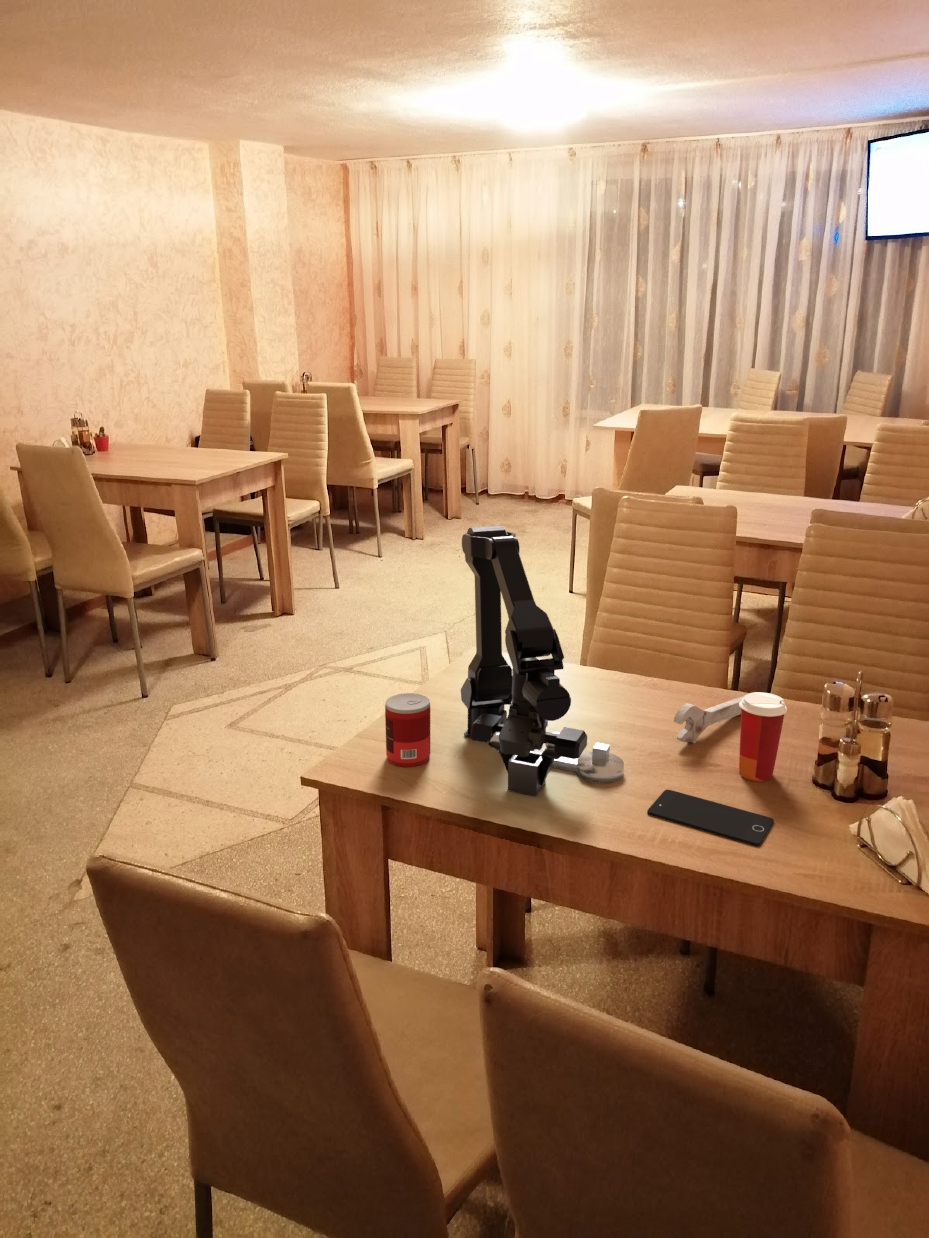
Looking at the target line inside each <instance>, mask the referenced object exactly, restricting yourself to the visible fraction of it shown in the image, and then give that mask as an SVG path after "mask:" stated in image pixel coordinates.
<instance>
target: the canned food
mask: <svg viewBox="0 0 929 1238" xmlns="http://www.w3.org/2000/svg"><path fill="white" fill-rule="evenodd" d="M430 700H431V699H430V698H429V697H427V696H426V695H423V694H420V693H416V692H415V693H414V692H413V693H412V692H407V693H398V694H394V695H392V696H390V697H388V698H387V699H386V700H385V703H384V704H385V706H384V707H385V708H384V713H385V715H384V716H385V717H384V718H385V722H384V723H385V751H386V753H385V754H386V757H387V760H388V762H389V763H390V764H392V765H394V766H397V767H402V768H403V767H404V768H411V767H412V768H413V767H416V766H420V765H421V766H422V765H423V764H425V763H426V762H427V761H428V760H429V759H430V756H431V701H430Z"/></svg>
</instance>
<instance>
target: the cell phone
mask: <svg viewBox="0 0 929 1238" xmlns="http://www.w3.org/2000/svg"><path fill="white" fill-rule="evenodd" d="M646 814H647V815H648V816H651V817H654V818H658V819H661V820H664V821H668V822H672V823H676V824H677V825H683V826H686V827H689V828H691V829H695V830H699V831H702V832H706V833H708V834H712V835H716V836H719V837H723V838H726V839H730V840H732V841H736V842H740V843H743V844H747V845H750V846H752V847H753V846H754V847H757V848H758V847H760V846H761V845H762V843H763V842H764V840H765V839H766V837H767V835H768V834H769V832H770V830H771V828H772V826H773V825H774V823H775V822H774V820H775V819H774V818H773V817H770V816H766V815H762V814H759V813H756V812H751V811H748V810H744V809H741V808H737V807H735V806H734V807H733V806H730V805H727V804H722V803H720V802H715V801H711V800H708V799H705V798H702V797H698V796H694V795H691V794H686V793H684V792H679V791H676V790H672V789H668V788H667V789H665V790H664V791H662V793H661V794H660V795H659V796H658V797H657V798H656V800H655V801H653V804H651V805H650V806H649V808H648V809H647V813H646Z"/></svg>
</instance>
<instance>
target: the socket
mask: <svg viewBox="0 0 929 1238" xmlns="http://www.w3.org/2000/svg"><path fill="white" fill-rule="evenodd" d="M541 754H542V753H540V752H534V751H530V754H529V755H528V756H526V757H519V756H518V755H513V756H512V757H511V758H510V760H509V761H508V773H507V792H512V793H517V794H522V795H526V796H527V795H528V796H532V797H537V796H538V795H539V793H540V791H541V790H542V789H543V787H544V785H546V782H547V780H545V782H544V784H543V785H540V774H541V766H542V757H541Z"/></svg>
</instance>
